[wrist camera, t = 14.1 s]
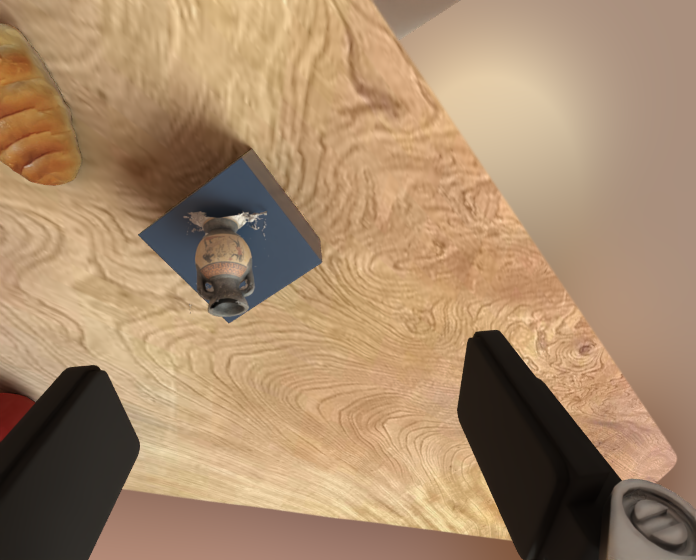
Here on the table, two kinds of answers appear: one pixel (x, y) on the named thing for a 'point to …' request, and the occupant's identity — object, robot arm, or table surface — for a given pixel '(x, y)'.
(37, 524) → the robot arm
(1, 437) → the apple
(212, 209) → the block
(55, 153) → the pastry
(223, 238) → the vase
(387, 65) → the table surface
